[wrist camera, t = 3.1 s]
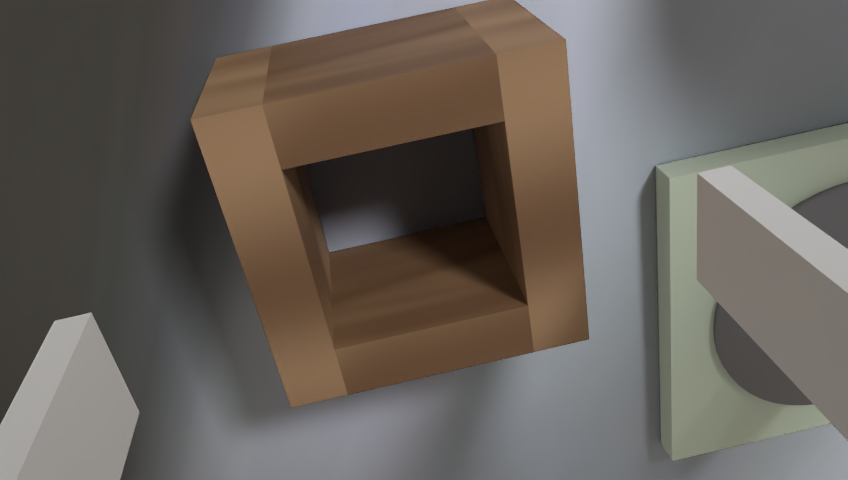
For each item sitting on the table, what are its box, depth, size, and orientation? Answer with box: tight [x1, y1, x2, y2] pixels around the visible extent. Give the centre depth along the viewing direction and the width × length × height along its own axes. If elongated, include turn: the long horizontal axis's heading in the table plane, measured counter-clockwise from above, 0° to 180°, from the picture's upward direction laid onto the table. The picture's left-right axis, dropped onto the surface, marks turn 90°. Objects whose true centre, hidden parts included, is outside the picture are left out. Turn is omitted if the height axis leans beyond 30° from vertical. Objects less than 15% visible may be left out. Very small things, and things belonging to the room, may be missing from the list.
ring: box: [191, 0, 589, 408], centre depth 19 cm, size 8×8×5 cm
